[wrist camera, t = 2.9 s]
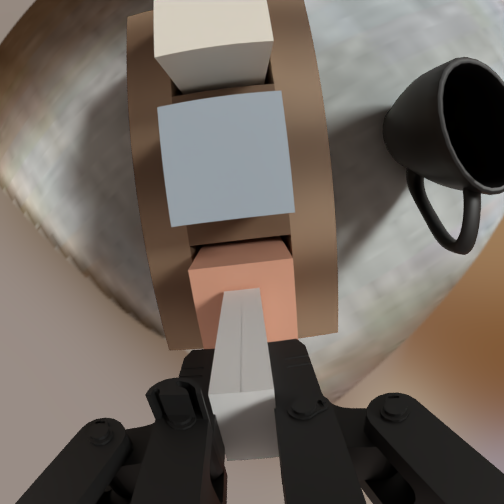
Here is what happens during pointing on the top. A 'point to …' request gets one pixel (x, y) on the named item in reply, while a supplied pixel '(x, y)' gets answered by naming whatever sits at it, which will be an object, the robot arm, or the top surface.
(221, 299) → the terracotta key
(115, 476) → the robot arm
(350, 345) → the top surface
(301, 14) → the brown wooden block
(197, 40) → the ivory key
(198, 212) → the slate key
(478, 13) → the top surface
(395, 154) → the mug
